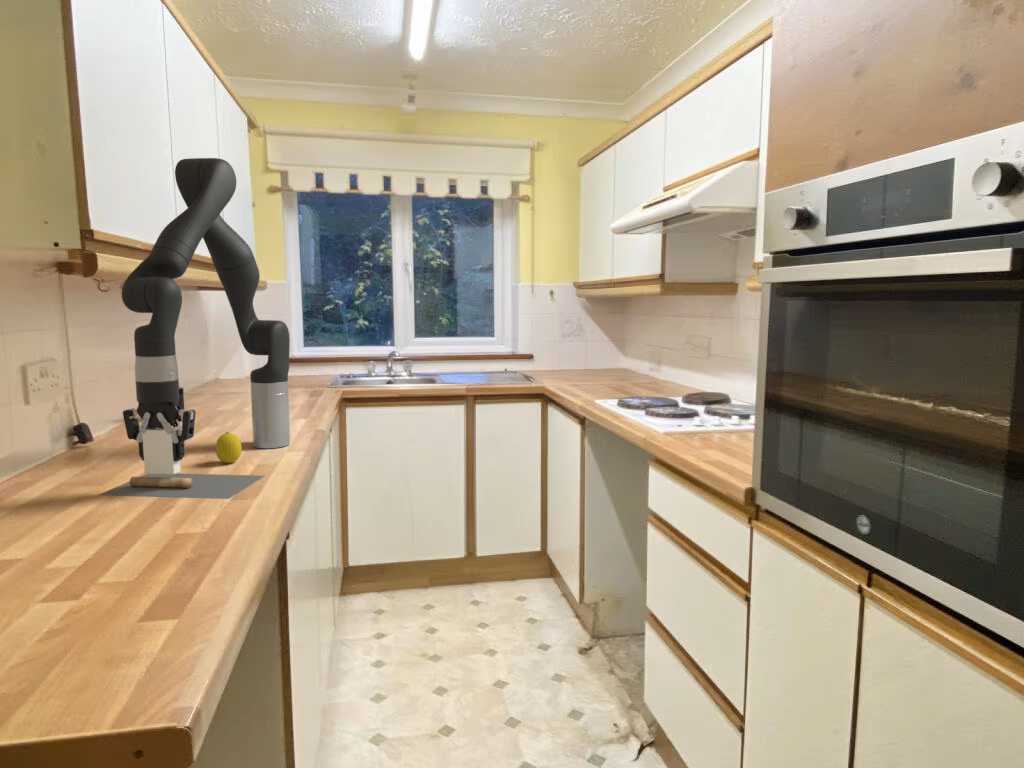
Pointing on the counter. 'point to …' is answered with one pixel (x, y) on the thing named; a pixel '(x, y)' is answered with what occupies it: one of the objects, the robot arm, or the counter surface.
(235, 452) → the lemon
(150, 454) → the tile
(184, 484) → the dowel
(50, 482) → the counter surface
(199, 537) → the counter surface
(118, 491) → the mat
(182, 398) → the supplement container
